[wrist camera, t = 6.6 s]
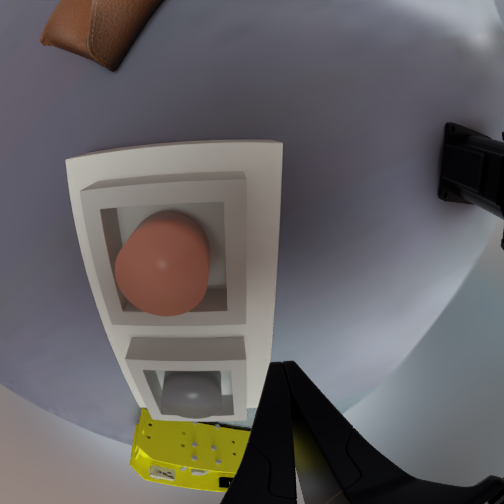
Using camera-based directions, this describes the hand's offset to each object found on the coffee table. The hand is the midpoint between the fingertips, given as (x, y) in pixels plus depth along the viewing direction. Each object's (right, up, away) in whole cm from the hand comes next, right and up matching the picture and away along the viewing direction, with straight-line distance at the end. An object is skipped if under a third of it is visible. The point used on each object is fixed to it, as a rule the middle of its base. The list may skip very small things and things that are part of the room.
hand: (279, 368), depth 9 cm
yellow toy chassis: (-7, -18, +21) cm, 28 cm away
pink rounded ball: (-5, +4, +6) cm, 9 cm away
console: (-6, +1, +12) cm, 13 cm away
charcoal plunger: (-6, -6, +11) cm, 14 cm away
